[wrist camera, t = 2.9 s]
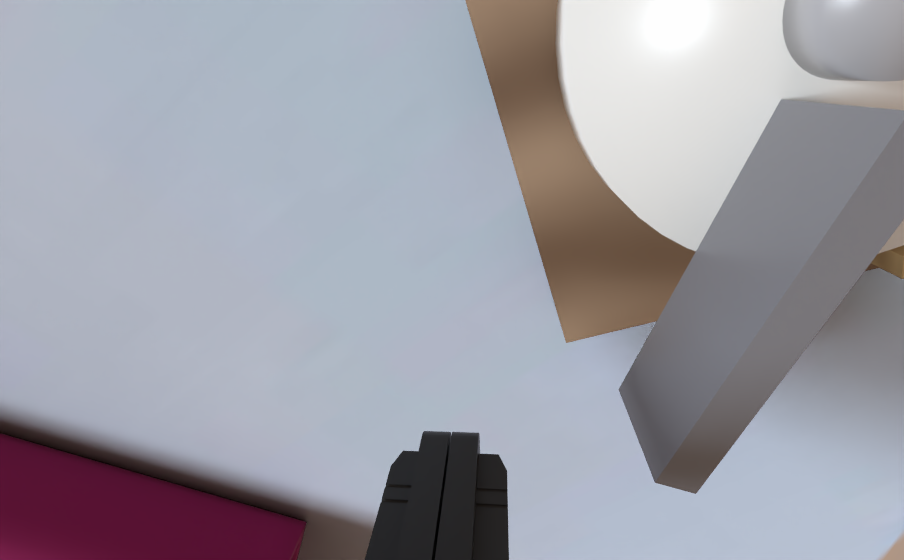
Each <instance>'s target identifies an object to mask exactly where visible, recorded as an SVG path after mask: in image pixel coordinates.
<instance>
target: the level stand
mask: <svg viewBox="0 0 904 560" xmlns="http://www.w3.org/2000/svg"><path fill="white" fill-rule="evenodd" d="M466 4H467V7H468V11H469V14H470V17H471V21H472V24H473V28H474V31H475V34H476V38H477V41H478V45H479V48H480V51H481V55H482V58H483V62H484V65H485V68H486V72H487V75H488V79H489V82H490V85H491V89H492V92H493V96H494V99H495V102H496V106H497V109H498V113H499V116H500V119H501V123H502V126H503V130H504V133H505V136H506V140H507V143H508V147H509V150H510V153H511V157H512V160H513V164H514V167H515V170H516V174H517V177H518V181H519V184H520V187H521V191H522V194H523V198H524V201H525V204H526V208H527V211H528V215H529V218H530V221H531V225H532V228H533V232H534V235H535V238H536V242H537V245H538V249H539V252H540V255H541V259H542V262H543V266H544V269H545V272H546V276H547V279H548V283H549V286H550V289H551V293H552V296H553V300H554V303H555V306H556V310H557V313H558V317H559V320H560V323H561V327H562V330H563V334H564V337H565V340H566V343H568V342H572V341H576V340H580V339H584V338H588V337H593V336H597V335H601V334H605V333H609V332H613V331H618V330H622V329H626V328H630V327H634V326H638V325H643V324H647V323H651V322H655V321H657V320H658V318H659V317H660V315H661V313H662V311H663V309H664V308H665V306H666V304H667V302H668V300H669V299H670V297H671V295H672V293H673V292H674V290H675V288H676V286H677V284H678V283H679V281H680V279H681V277H682V275H683V274H684V272H685V270H686V268H687V266H688V265H689V263H690V261H691V259H692V258H693V256H694V254H695V252H696V251H693V250H691V249H688V248H686V247H684V246H682V245H680V244H678V243H676V242H675V241H673V240H671V239H669V238H667V237H665V236H664V235H662V234H660V233H659V232H658V231H656V230H655V229H654V228H652V227H651V226H650V225H648V224H647V223H646V222H644V221H643V220H642V219H640V218H639V217H638V216H637V215H636V214H635V213H634V212H633V211H632V210H631V209H630V208H629V207H628V206H627V205H626V204H625V203H624V202H623V201H622V200H621V199H620V198H619V197H618V196H617V195H616V194H615V193H614V192H613V191H612V190H611V189H610V188H609V187H608V186H607V185H606V184H605V183H604V182H603V181H602V179H601V178H600V177H599V175H598V174H597V172H596V171H595V170H594V168H593V167H592V166H591V164H590V163H589V161H588V160H587V158H586V156H585V154H584V152H583V151H582V149H581V147H580V145H579V143H578V141H577V139H576V137H575V135H574V132H573V130H572V127H571V124H570V121H569V119H568V116H567V113H566V110H565V107H564V102H563V97H562V93H561V88H560V84H559V79H558V69H557V57H556V15H557V4H558V0H466ZM875 268H881V269H883V270H885V271H887V272H889V273H891V274H893V275H895V276H897V277H899V278H901V279H904V245H903V246H900V247H897V248H894V249H891V250H888V251H885V252H882V253H879V254H877V255H876V257H875V258H874V259H873V261H872V262H871V263H870V265H869V266H868V267H867V269H866V270H865V271H867V270H871V269H875Z"/></svg>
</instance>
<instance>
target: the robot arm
mask: <svg viewBox="0 0 904 560" xmlns="http://www.w3.org/2000/svg"><path fill="white" fill-rule="evenodd" d="M365 560H509V548H508V500H507V470H506V468H505V466H504V464H503V462H502V460H501V458H500V457H499V455H496V454H480V440H479V433H466V432H452V436H451V432H434V431H424V432H423V434H422V439H421V443H420V448H419V452H418V451H403V452H402V453H401V454H400V455H399V457H398V458H397V459H396V460H395V462H394V463H393V464H392V465H391V468H390V472H389V475H388V479H387V482H386V487H385V489H384V493H383V497H382V503H381V504H380V507H379V511H378V514H377V518H376V522H375V525H374V529H373V532H372V536H371V539H370V543H369V547H368V550H367V554H366V557H365Z"/></svg>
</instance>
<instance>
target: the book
mask: <svg viewBox="0 0 904 560" xmlns="http://www.w3.org/2000/svg"><path fill="white" fill-rule="evenodd" d="M306 523H307V522H305V521H301V520H298V519H294V518H291V517H287V516H284V515H280V514H277V513H273V512H270V511H267V510H263V509H260V508H256V507H253V506H249V505H246V504H242V503H239V502H236V501H232V500H229V499H225V498H222V497H218V496H215V495H211V494H208V493H204V492H201V491H198V490H194V489H191V488H187V487H184V486H180V485H177V484H173V483H170V482H166V481H163V480H160V479H156V478H153V477H149V476H146V475H142V474H139V473H135V472H132V471H129V470H125V469H122V468H118V467H115V466H111V465H108V464H104V463H101V462H97V461H94V460H91V459H87V458H84V457H80V456H77V455H73V454H70V453H66V452H63V451H60V450H56V449H53V448H49V447H46V446H42V445H39V444H35V443H32V442H28V441H25V440H22V439H18V438H15V437H11V436H8V435H4V434H1V433H0V560H297V558H298V554H299V550H300V546H301V542H302V538H303V535H304V531H305V527H306Z"/></svg>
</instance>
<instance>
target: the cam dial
mask: <svg viewBox="0 0 904 560" xmlns="http://www.w3.org/2000/svg"><path fill="white" fill-rule="evenodd" d="M556 57H557V69H558V79H559V84H560V88H561V93H562V97H563V102H564V107H565V110H566V113H567V116H568V119H569V121H570V124H571V127H572V130H573V132H574V135H575V137H576V139H577V141H578V143H579V145H580V147H581V149H582V151H583V152H584V154H585V156H586V158H587V160H588V161H589V163H590V164H591V166H592V167H593V168H594V170H595V171H596V172H597V174H598V175H599V177H600V178H601V179H602V181H603V182H604V183H605V184H606V185H607V186H608V187H609V188H610V189H611V190H612V191H613V192H614V193H615V194H616V195H617V196H618V197H619V198H620V199H621V200H622V201H623V202H624V203H625V204H626V205H627V206H628V207H629V208H630V209H631V210H632V211H633V212H634V213H635V214H636V215H637V216H638V217H639V218H640V219H642V220H643V221H644V222H646V223H647V224H648V225H650V226H651V227H652V228H654V229H655V230H656V231H658V232H659V233H660V234H662V235H664V236H665V237H667V238H669V239H671V240H673V241H675V242H676V243H678V244H680V245H682V246H684V247H686V248H688V249H691V250H693V251H696V252H695V254H694V256H693V258H692V259H691V261H690V263H689V265H688V266H687V268H686V270H685V272H684V274H683V275H682V277H681V279H680V281H679V283H678V284H677V286H676V288H675V290H674V292H673V293H672V295H671V297H670V299H669V300H668V302H667V304H666V306H665V308H664V309H663V311H662V313H661V315H660V317H659V318H658V320H657V322H656V324H655V325H654V327H653V329H652V331H651V333H650V334H649V336H648V338H647V340H646V342H645V343H644V345H643V347H642V349H641V351H640V352H639V354H638V356H637V358H636V359H635V361H634V363H633V365H632V367H631V368H630V370H629V372H628V374H627V376H626V377H625V379H624V381H623V383H622V384H621V386H620V388H619V392H620V394H621V397H622V399H623V402H624V404H625V407H626V409H627V412H628V415H629V417H630V420H631V422H632V425H633V427H634V430H635V433H636V435H637V438H638V440H639V443H640V445H641V448H642V450H643V453H644V456H645V458H646V461H647V463H648V466H649V468H650V471H651V474H652V476H653V479H654V481H655V483H659V484H662V485H666V486H670V487H673V488H677V489H680V490H684V491H688V492H691V493H695V494H696V493H697V492H698V490H699V489H700V488H701V486H702V485H703V484H704V482H705V481H706V480H707V478H708V477H709V476H710V474H711V473H712V472H713V471H714V469H715V468H716V467H717V465H718V464H719V463H720V461H721V460H722V459H723V457H724V456H725V455H726V453H727V452H728V451H729V449H730V448H731V447H732V445H733V444H734V443H735V441H736V440H737V439H738V438H739V436H740V435H741V434H742V432H743V431H744V430H745V428H746V427H747V426H748V424H749V423H750V422H751V420H752V419H753V418H754V416H755V415H756V414H757V412H758V411H759V410H760V408H761V407H762V406H763V405H764V403H765V402H766V401H767V399H768V398H769V397H770V395H771V394H772V393H773V391H774V390H775V389H776V387H777V386H778V385H779V383H780V382H781V381H782V379H783V378H784V377H785V375H786V374H787V373H788V372H789V370H790V369H791V368H792V366H793V365H794V364H795V362H796V361H797V360H798V358H799V357H800V356H801V354H802V353H803V352H804V350H805V349H806V348H807V346H808V345H809V344H810V343H811V341H812V340H813V339H814V337H815V336H816V335H817V333H818V332H819V331H820V329H821V328H822V327H823V325H824V324H825V323H826V321H827V320H828V319H829V317H830V316H831V315H832V313H833V312H834V311H835V310H836V308H837V307H838V306H839V304H840V303H841V302H842V300H843V299H844V298H845V296H846V295H847V294H848V292H849V291H850V290H851V288H852V287H853V286H854V284H855V283H856V282H857V280H858V279H859V278H860V277H861V275H862V274H863V273H864V271H865V270H866V269H867V267H868V266H869V265H870V263H871V262H872V261H873V259H874V258H875V257H876V255H877V254H879V253H882V252H885V251H888V250H891V249H894V248H897V247H900V246H903V245H904V0H558V4H557V15H556Z"/></svg>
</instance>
